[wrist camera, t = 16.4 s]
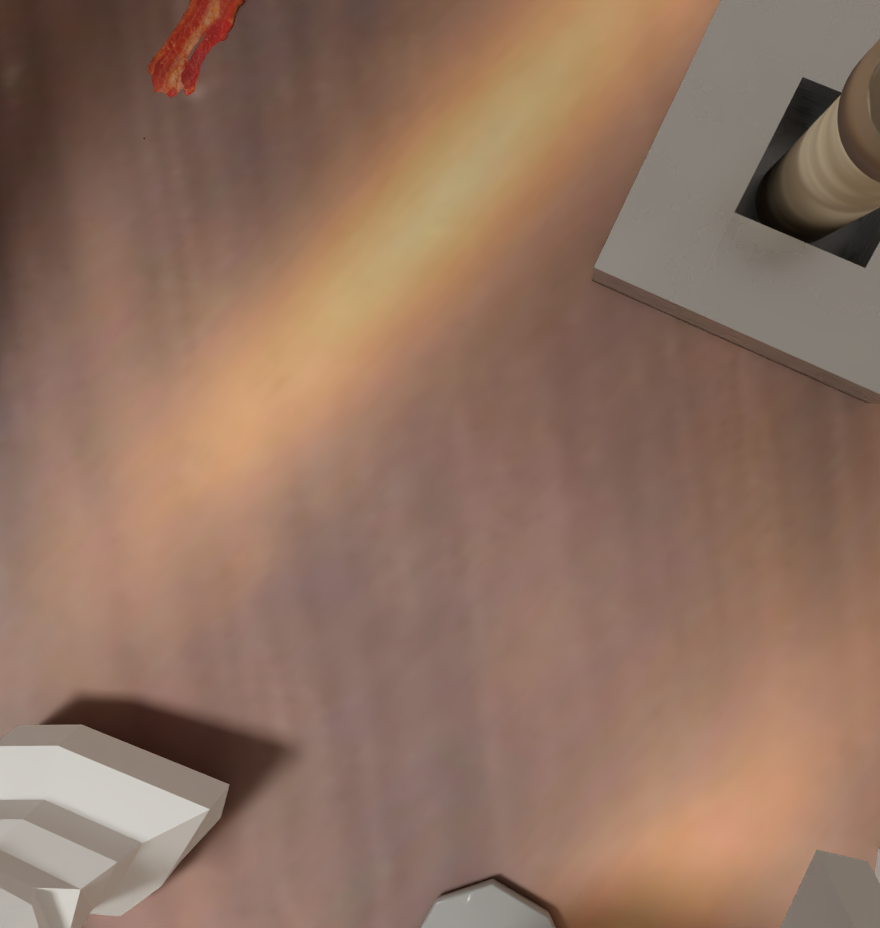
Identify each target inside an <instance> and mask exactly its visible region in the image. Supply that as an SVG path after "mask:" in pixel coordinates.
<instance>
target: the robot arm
mask: <svg viewBox="0 0 880 928" xmlns="http://www.w3.org/2000/svg"><path fill="white" fill-rule="evenodd" d="M780 928H880V883H879V881H878V880H877V878H876V876H875V874H874V872H873V871H872V869H871V867H870V865H869V864H868V862H867V861H863V860H859V859H855V858H850V857H846V856H842V855H837V854H833V853H829V852H825V851H820V850H816V852H815V854H814V856H813V859H812V861H811V863H810V865H809V867H808V869H807V872H806V874H805V876H804V878H803V880H802V882H801V884H800V887H799V889H798V891H797V893H796V895H795V897H794V899H793V902H792V904H791V906H790V908H789V910H788V912H787V914H786V917H785V919H784V921H783V923H782V925H781V927H780Z"/></svg>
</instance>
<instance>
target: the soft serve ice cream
mask: <svg viewBox="0 0 880 928" xmlns="http://www.w3.org/2000/svg"><path fill="white" fill-rule="evenodd" d="M229 785H230V784H227V783H225V782H222V781H220V780H217V779H215V778H213V777H210V776H208V775H205V774H203V773H200V772H198V771H195V770H193V769H190V768H188V767H185V766H183V765H180V764H178V763H175V762H173V761H171V760H168V759H166V758H163V757H161V756H158V755H156V754H153V753H151V752H148V751H146V750H143V749H141V748H138V747H136V746H134V745H131V744H129V743H126V742H124V741H121V740H119V739H116V738H114V737H111V736H109V735H106V734H104V733H101V732H99V731H97V730H94V729H92V728H89V727H87V726H84V725H82V724H81V725H18V726H16V727H15V728H14V729H12V730H11V731H10V732H9V733H7V734H6V735H5V736H4V737H2V738H1V739H0V928H81V927H82V926H83V924H84V922H85V921H86V919H87V918H88V916H89V914H100V915H110V916H121V915H123V914H124V913H125V912H127V911H128V910H129V909H131V908H132V907H134V906H135V905H136V904H138V903H139V902H140V901H142V900H143V899H145V898H146V897H147V896H149V895H150V894H151V893H153V892H154V891H156V890H157V889H158V888H160V887H161V886H162V885H163V883H164V882H165V881H166V880H167V878H168V877H169V876H170V874H171V873H172V872H173V871H174V869H175V868H176V867H177V865H178V864H179V863H180V862H181V861H182V859H183V858H184V857H185V856H186V855H187V854H188V853H189V852H190V851H191V850H192V849H193V848H194V846H195V845H196V844H197V843H198V842H199V841H200V840H201V839H202V838H203V837H204V836H205V835H206V834H207V832H208V831H209V830H210V829H211V828H212V827H213V826H214V825H215V824H216V823H217V822H218V820H219V819H220V818H221V815H222V812H223V808H224V804H225V800H226V796H227V793H228V789H229Z"/></svg>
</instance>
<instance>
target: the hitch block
mask: <svg viewBox="0 0 880 928" xmlns="http://www.w3.org/2000/svg"><path fill="white" fill-rule="evenodd" d="M879 39H880V0H721V1H720V3H719V5H718V7H717V9H716V12H715V14H714V16H713V18H712V20H711V22H710V24H709V26H708V28H707V30H706V33H705V35H704V37H703V39H702V41H701V43H700V45H699V47H698V49H697V52H696V54H695V56H694V58H693V60H692V62H691V64H690V66H689V68H688V70H687V73H686V75H685V77H684V79H683V81H682V83H681V85H680V87H679V89H678V91H677V94H676V96H675V98H674V100H673V102H672V104H671V106H670V108H669V110H668V113H667V115H666V117H665V119H664V121H663V123H662V125H661V127H660V129H659V131H658V134H657V136H656V138H655V140H654V142H653V144H652V146H651V148H650V150H649V152H648V155H647V157H646V159H645V161H644V163H643V165H642V167H641V169H640V171H639V173H638V176H637V178H636V180H635V182H634V184H633V186H632V188H631V190H630V192H629V195H628V197H627V199H626V201H625V203H624V205H623V207H622V209H621V211H620V213H619V216H618V218H617V220H616V222H615V224H614V226H613V228H612V230H611V232H610V234H609V237H608V239H607V241H606V243H605V245H604V247H603V249H602V251H601V253H600V256H599V258H598V260H597V262H596V264H595V266H594V269H593V276H592V281H594V282H596V283H599V284H601V285H603V286H605V287H608V288H610V289H612V290H614V291H617V292H619V293H621V294H623V295H626V296H628V297H630V298H632V299H635V300H637V301H639V302H641V303H644V304H646V305H648V306H650V307H653V308H655V309H657V310H659V311H662V312H664V313H666V314H668V315H671V316H673V317H675V318H677V319H680V320H682V321H684V322H686V323H689V324H691V325H693V326H695V327H698V328H700V329H702V330H704V331H707V332H709V333H711V334H713V335H716V336H718V337H720V338H722V339H724V340H727V341H729V342H731V343H733V344H736V345H738V346H740V347H742V348H745V349H747V350H749V351H751V352H754V353H756V354H758V355H760V356H763V357H765V358H767V359H769V360H772V361H774V362H776V363H778V364H781V365H783V366H785V367H787V368H790V369H792V370H794V371H796V372H799V373H801V374H803V375H805V376H808V377H810V378H812V379H814V380H817V381H819V382H821V383H823V384H826V385H828V386H830V387H832V388H835V389H837V390H839V391H841V392H843V393H846V394H848V395H850V396H852V397H855V398H857V399H859V400H861V401H864V402H866V403H874V404H880V207H879V208H877V209H876V210H874V211H872V212H870V213H868V214H866V215H864V216H863V217H861V218H859V219H857V220H855V221H853V222H851V223H849V224H848V225H846V226H844V227H842V228H840V229H838V230H836V231H835V232H833V233H831V234H829V235H827V236H825V237H823V238H821V239H819V240H817V241H814V242H811V243H805V242H803V241H800V240H798V239H796V238H793V237H791V236H789V235H786V234H784V233H782V232H779V231H777V230H775V229H772V228H770V227H768V226H765V225H763V224H761V222H760V220H759V218H758V215H757V211H756V195H757V190H758V187H759V185H760V182H761V180H762V179H763V177H764V176H765V174H766V173H767V172H768V170H769V169H770V168H771V167H772V166H773V165H774V164H775V163H776V162H777V161H778V160H779V159H780V158H781V157H782V156H783V155H784V154H785V153H786V152H787V151H788V150H789V149H790V147H791V146H792V145H793V144H794V143H795V142H796V141H797V140H798V139H799V138H800V137H801V136H802V135H803V134H804V133H805V132H806V131H807V130H808V129H809V128H810V127H811V126H812V124H813V123H814V122H815V121H816V120H817V119H818V118H819V117H820V116H821V115H822V114H823V113H824V112H825V111H826V110H827V109H828V108H829V107H830V106H831V105H832V104H833V103H834V101H835V100H836V99H837V98H838V97H839V96H840V95H841V93H842V89H843V87H844V85H845V83H846V80H847V78H848V77H849V75H850V73H851V72H852V70H853V69H854V67H855V66H856V65H857V63H858V62H859V61H860V60H861V59H862V58H863V56H864V55H865V54H866V53H867V52H868V51H869V50H870V49H871V48H872V47H873V45H874V44H875V43H876V42H877V41H878V40H879Z"/></svg>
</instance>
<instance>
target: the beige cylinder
mask: <svg viewBox="0 0 880 928" xmlns="http://www.w3.org/2000/svg"><path fill="white" fill-rule="evenodd" d="M879 207H880V39H879V40H878V41H877V42H876V43H875V44H874V45H873V47H872V48H871V49H870V50H869V51H868V52H867V53H866V54H865V55H864V56H863V58H862V59H861V60H860V61H859V62H858V63H857V65H856V66H855V67H854V69H853V70H852V72H851V73H850V75H849V77H848V78H847V80H846V83H845V85H844V87H843V89H842V93H841V95H840V96H839V97H838V98H837V99H836V100H835V101H834V103H833V104H832V105H831V106H830V107H829V108H828V109H827V110H826V111H825V112H824V113H823V114H822V115H821V116H820V117H819V118H818V119H817V120H816V121H815V122H814V123H813V124H812V126H811V127H810V128H809V129H808V130H807V131H806V132H805V133H804V134H803V135H802V136H801V137H800V138H799V139H798V140H797V141H796V142H795V143H794V144H793V145H792V146H791V147H790V149H789V150H788V151H787V152H786V153H785V154H784V155H783V156H782V157H781V158H780V159H779V160H778V161H777V162H776V163H775V164H774V165H773V166H772V167H771V168H770V169H769V170H768V172H767V173H766V174H765V176H764V177H763V179H762V180H761V182H760V185H759V187H758V190H757V195H756V211H757V215H758V218H759V220H760V222H761V224H763V225H765V226H768V227H770V228H772V229H775V230H777V231H779V232H782V233H784V234H786V235H789V236H791V237H793V238H796V239H798V240H800V241H803V242H805V243H811V242H814V241H817V240H819V239H821V238H823V237H825V236H827V235H829V234H831V233H833V232H835V231H836V230H838V229H840V228H842V227H844V226H846V225H848V224H849V223H851V222H853V221H855V220H857V219H859V218H861V217H863V216H864V215H866V214H868V213H870V212H872V211H874V210H876V209H877V208H879Z"/></svg>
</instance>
